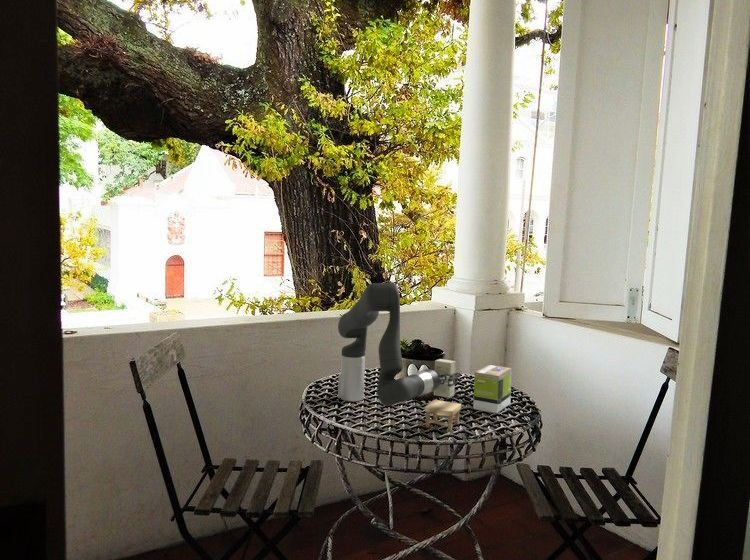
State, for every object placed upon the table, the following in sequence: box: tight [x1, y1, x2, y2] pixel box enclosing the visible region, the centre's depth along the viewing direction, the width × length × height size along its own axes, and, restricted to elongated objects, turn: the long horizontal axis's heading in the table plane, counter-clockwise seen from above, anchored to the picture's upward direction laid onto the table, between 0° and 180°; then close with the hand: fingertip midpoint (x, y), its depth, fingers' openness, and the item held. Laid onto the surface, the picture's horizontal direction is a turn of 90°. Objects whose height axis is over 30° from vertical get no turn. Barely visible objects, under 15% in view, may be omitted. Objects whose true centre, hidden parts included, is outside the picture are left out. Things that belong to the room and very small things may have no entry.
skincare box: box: [433, 358, 457, 399], centre depth 221 cm, size 6×4×12 cm
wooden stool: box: [424, 399, 462, 432], centre depth 223 cm, size 10×10×7 cm
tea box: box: [472, 364, 513, 414], centre depth 247 cm, size 15×10×15 cm, turn 149°
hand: (448, 374), depth 223 cm, fingers closed on skincare box, 6 cm apart
